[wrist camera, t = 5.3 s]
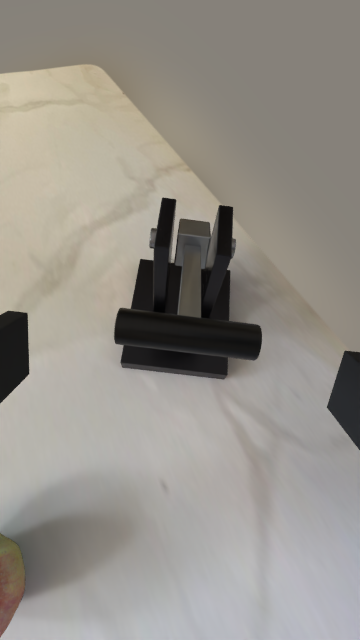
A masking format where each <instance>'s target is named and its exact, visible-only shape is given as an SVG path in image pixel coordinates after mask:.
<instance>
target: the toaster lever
mask: <svg viewBox="0 0 360 640" xmlns="http://www.w3.org/2000/svg"><path fill="white" fill-rule="evenodd" d="M210 240H211V234H210V223H209V222H203V221H196V220H188V219H180V222H179V229H178V236H177V245H176V254H175V262H174V265H177V266H182V274H181V284H180V294H179V304H178V314H177V315H175V314H167V313H159V312H151V311H143V310H135V309H126V308H120V309H119V311H118V313H117V317H116V322H115V331H114V340H115V343H116V344H120V345H129V346H137V347H145V348H154V349H162V350H171V351H179V352H187V353H196V354H204V355H212V356H221V357H229V358H237V359H246V360H256V359H257V358H258V356H259V353H260V349H261V343H262V332H261V328H260V326H259V325H256V324H248V323H240V322H232V321H224V320H216V319H208V318H201V269H205V267H206V261H207V256H208V250H209V245H210Z"/></svg>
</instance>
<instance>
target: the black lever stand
mask: <svg viewBox="0 0 360 640" xmlns="http://www.w3.org/2000/svg"><path fill="white" fill-rule="evenodd" d="M175 209H176V199H169V198H162V202H161V207H160V213H159V219H158V225H157V229H156V228H152V229H151V233H150V242H149V246H150V248H153V249H154V261H152V260H144V259H140V264H139V269H138V274H137V279H136V285H135V290H134V295H133V300H132V306H131V309H135V310H143V311H151V312H159V313H167V314H175V315H177V314H178V304H179V294H180V284H181V274H182V266H177V265H174V263H171V254H172V243H173V232H174V220H175ZM232 228H233V207H230V206H222V205H219V208H218V212H217V216H216V220H215V224H214V228H213V232H212V236H211V240H210V245H209V250H208V256H207V261H206V267H205V269H201V318H208V319H216V320H224V321H229V299H230V270H227V268H228V265H229V263H230V260H231V259H232V258H233V256H234V253H235V247H236V239H233V238H232ZM121 365H122V367H123V368H131V369H140V370H148V371H157V372H165V373H174V374H182V375H191V376H199V377H208V378H216V379H225V377H226V376H227V370H228V357H221V356H212V355H204V354H196V353H187V352H179V351H171V350H162V349H154V348H145V347H137V346H129V345H124V347H123V352H122V358H121Z"/></svg>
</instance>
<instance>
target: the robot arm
mask: <svg viewBox="0 0 360 640" xmlns="http://www.w3.org/2000/svg"><path fill="white" fill-rule="evenodd" d="M28 375H29V349H28V315H27V313H23V312H14V311H7V312H5V313H3V314H1V315H0V403H1V402H2V401H3V400H4V399H5V398H6V397H7V396H8V395H9V394H10V393H11V392H12V391H13V390H14V389H15V388H16V387H17V386H18V385H19V384H20V383H21V382H22V381H23V380H24V379H25V378H26V377H27V376H28ZM327 408H328V409H329V411H330V412H331V413H332V415H333V416H334V417H335V418H336V420H337V421H338V422H339V424H340V425H341V426H342V428H343V429H344V430H345V432H346V433H347V434H348V435H349V437H350V438H351V439H352V441H353V442H354V443H355V445H356V446H357V447H358V449H359V450H360V352H352V351H344V355H343V358H342V361H341V364H340V367H339V371H338V374H337V377H336V380H335V383H334V387H333V390H332V393H331V396H330V399H329V403H328V406H327Z"/></svg>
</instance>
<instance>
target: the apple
mask: <svg viewBox="0 0 360 640" xmlns="http://www.w3.org/2000/svg"><path fill="white" fill-rule="evenodd" d="M24 590H25V568H24V563H23V558H22V555H21V551H20V548H19V547H18V545H17V544H16V543H15V542H13V541H12V540H10V539H9V538H7V537H5V536H3V535H2V534H1V533H0V637H1V636H2V634H3V633H4V631H5V630H6V628H7V626H8V625H9V623H10V621H11V620H12V617H13V615H14V613H15V611H16V609H17V607H18V605H19V603H20V601H21V599H22V597H23V594H24Z"/></svg>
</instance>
